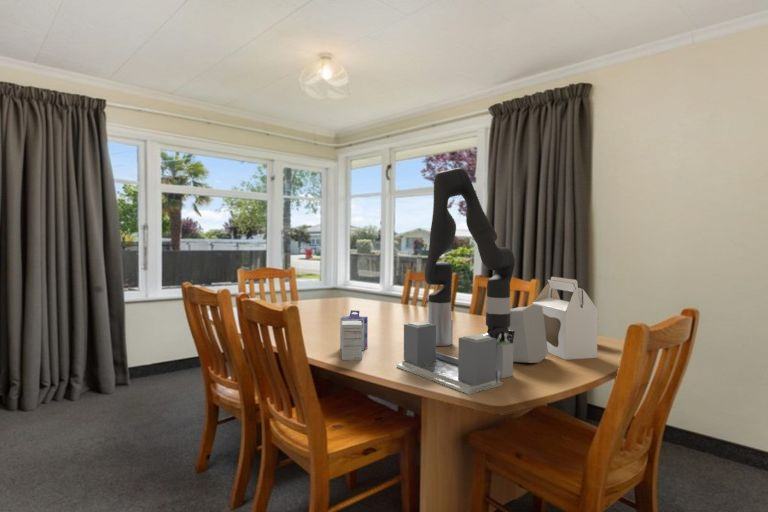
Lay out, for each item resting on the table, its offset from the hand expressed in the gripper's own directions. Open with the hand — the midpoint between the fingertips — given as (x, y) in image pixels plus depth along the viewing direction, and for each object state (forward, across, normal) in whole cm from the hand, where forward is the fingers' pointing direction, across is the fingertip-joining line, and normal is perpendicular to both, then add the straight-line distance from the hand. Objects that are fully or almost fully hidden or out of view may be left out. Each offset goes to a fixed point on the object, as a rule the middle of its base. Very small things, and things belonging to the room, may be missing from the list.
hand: (497, 364), depth 139 cm
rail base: (+3, +14, -8) cm, 17 cm away
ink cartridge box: (+3, +19, -54) cm, 57 cm away
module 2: (+1, +14, +5) cm, 15 cm away
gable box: (+3, -43, -4) cm, 43 cm away
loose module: (+3, 0, 0) cm, 3 cm away
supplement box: (+3, +27, -43) cm, 51 cm away
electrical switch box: (+3, -21, -8) cm, 23 cm away
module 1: (+1, +14, -20) cm, 25 cm away
